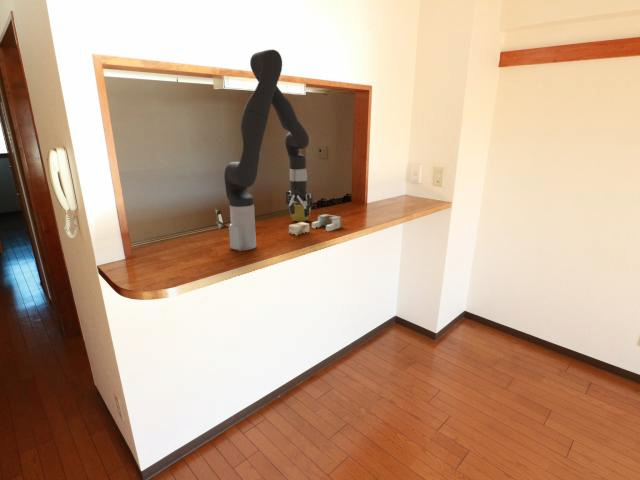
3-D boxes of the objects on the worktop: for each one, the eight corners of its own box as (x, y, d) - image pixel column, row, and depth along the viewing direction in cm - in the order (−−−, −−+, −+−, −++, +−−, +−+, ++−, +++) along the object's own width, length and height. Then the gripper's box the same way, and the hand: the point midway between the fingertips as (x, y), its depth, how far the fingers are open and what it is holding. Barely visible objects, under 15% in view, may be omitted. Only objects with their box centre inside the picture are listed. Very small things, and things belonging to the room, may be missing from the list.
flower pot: (288, 221, 187) (288, 204, 184) (297, 218, 194) (297, 201, 191) (303, 223, 183) (303, 205, 180) (311, 220, 190) (311, 202, 188)
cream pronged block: (296, 235, 162) (296, 227, 161) (289, 233, 165) (288, 225, 164) (309, 232, 168) (309, 223, 167) (301, 230, 171) (301, 222, 170)
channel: (328, 231, 168) (328, 220, 167) (311, 227, 175) (311, 217, 173) (341, 227, 176) (341, 216, 174) (325, 223, 182) (325, 213, 181)
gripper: (280, 178, 161) (282, 214, 166) (304, 181, 153) (305, 219, 158) (292, 177, 167) (293, 211, 172) (316, 179, 158) (317, 215, 163)
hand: (299, 215), depth 165 cm, fingers open, 8 cm apart
